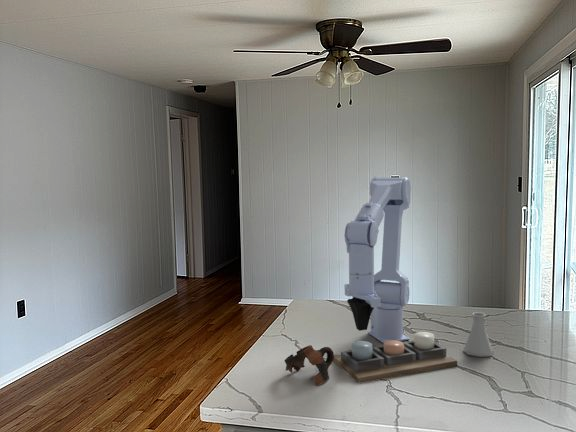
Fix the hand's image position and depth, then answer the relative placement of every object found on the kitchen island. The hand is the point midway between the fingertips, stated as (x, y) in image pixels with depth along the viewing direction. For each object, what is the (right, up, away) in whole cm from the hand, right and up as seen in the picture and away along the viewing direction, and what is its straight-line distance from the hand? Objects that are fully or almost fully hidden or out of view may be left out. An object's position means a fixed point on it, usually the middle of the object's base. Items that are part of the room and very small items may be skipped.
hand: (361, 329), depth 122 cm
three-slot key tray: (+8, -9, +4) cm, 13 cm away
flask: (+31, -8, +9) cm, 33 cm away
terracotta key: (+8, -7, +4) cm, 12 cm away
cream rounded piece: (+16, -6, +6) cm, 18 cm away
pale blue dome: (0, -7, +1) cm, 7 cm away
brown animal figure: (-12, -11, -3) cm, 16 cm away
